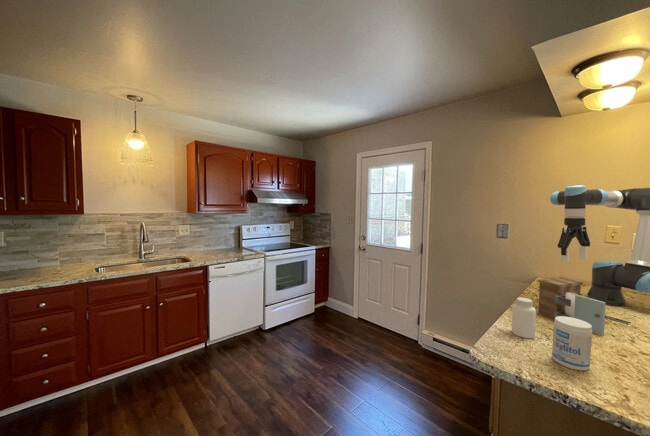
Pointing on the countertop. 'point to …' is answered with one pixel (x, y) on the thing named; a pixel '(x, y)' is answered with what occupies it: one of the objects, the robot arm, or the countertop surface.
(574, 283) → the cabinet
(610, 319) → the pliers
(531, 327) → the pill bottle
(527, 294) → the countertop surface
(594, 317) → the door
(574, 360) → the supplement tub
